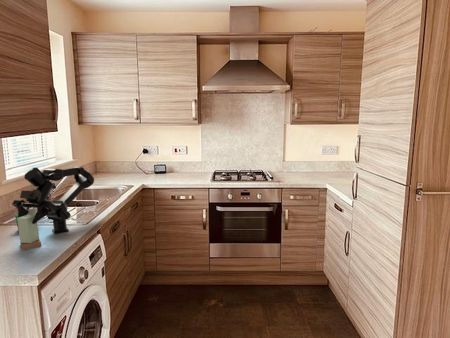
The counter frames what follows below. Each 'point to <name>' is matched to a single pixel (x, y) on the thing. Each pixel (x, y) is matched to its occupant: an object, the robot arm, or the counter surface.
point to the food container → (31, 212)
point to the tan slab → (30, 244)
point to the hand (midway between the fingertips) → (25, 223)
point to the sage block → (27, 229)
